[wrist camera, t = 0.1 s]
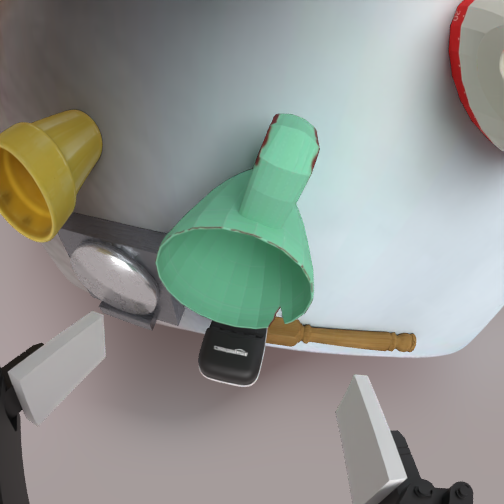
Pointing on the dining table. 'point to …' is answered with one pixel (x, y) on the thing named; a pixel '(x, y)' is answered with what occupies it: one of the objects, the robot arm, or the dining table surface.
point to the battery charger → (232, 354)
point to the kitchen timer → (480, 64)
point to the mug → (248, 238)
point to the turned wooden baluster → (337, 337)
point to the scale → (120, 269)
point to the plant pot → (46, 171)
